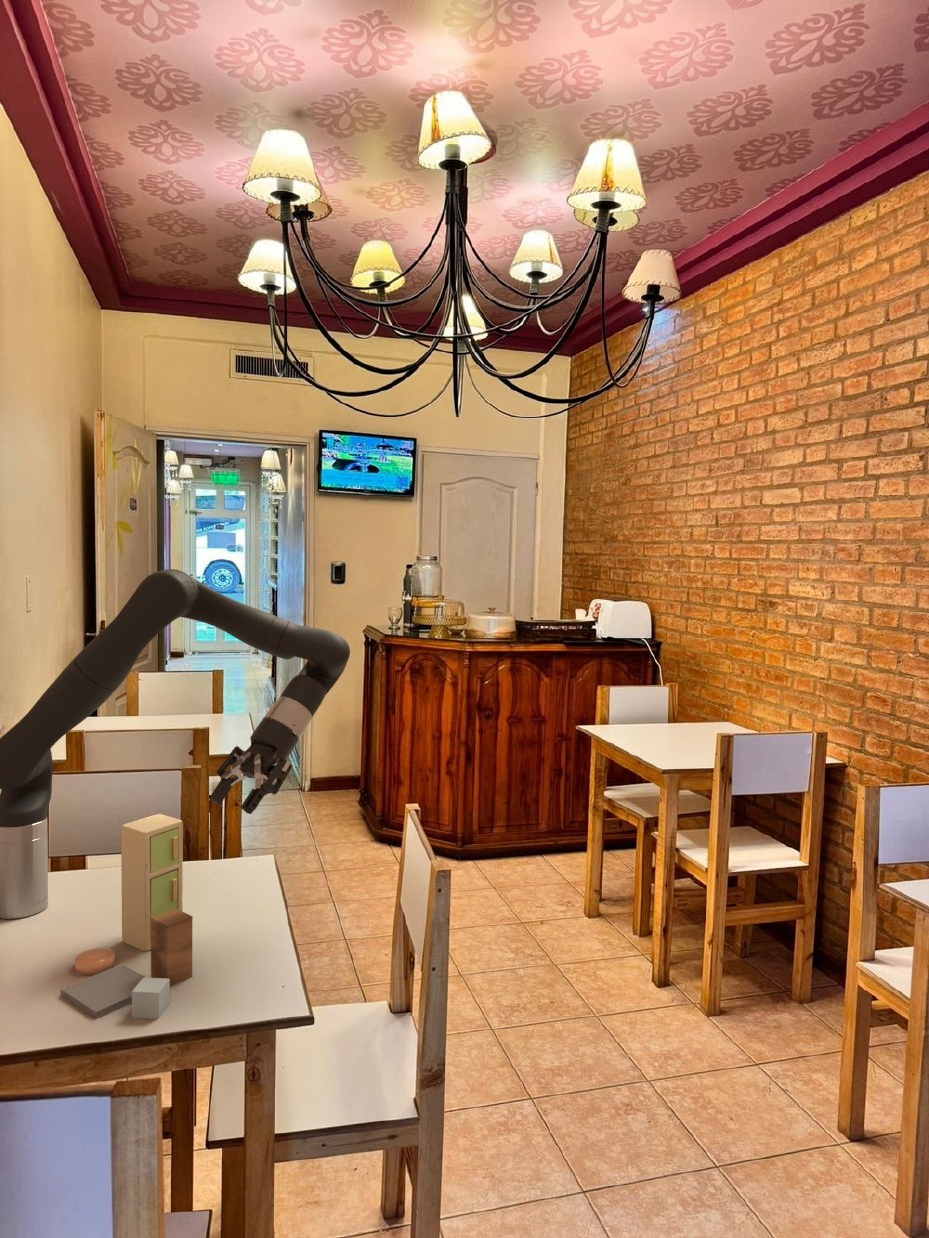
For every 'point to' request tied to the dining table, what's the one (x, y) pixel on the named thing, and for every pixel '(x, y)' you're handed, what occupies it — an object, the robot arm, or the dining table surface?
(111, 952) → the orange disc
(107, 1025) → the dining table surface
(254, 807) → the robot arm
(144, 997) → the grey cube
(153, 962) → the walnut block
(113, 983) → the slate coaster
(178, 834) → the toy refrigerator
